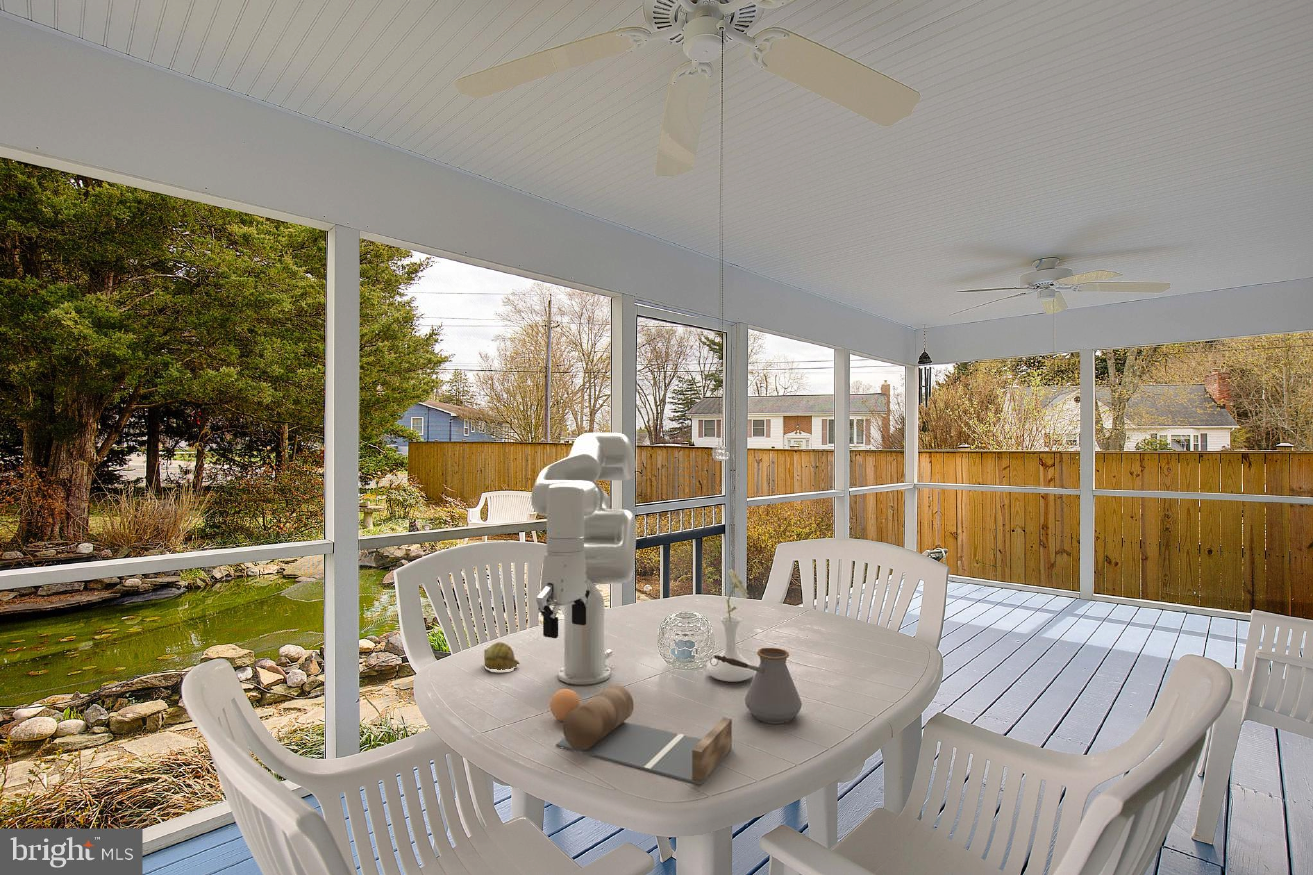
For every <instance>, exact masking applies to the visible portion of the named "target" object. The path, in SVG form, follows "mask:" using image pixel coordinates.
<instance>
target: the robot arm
mask: <svg viewBox="0 0 1313 875" xmlns="http://www.w3.org/2000/svg"><path fill="white" fill-rule="evenodd" d="M631 443H632V442H631V441H630V439H629V437H627V436H626V435H625V434H623V433H620V432H587V433H583V434H581V435H579V436H578V437H577V438H576V439H575V440H574V441H573V444H572V446H571V449H570V451H569V453H568V456H567V457H565V458H562V459H560V460H558V461H556V462H554V463H551V464H550V465H547V466H546V467H544V468H543V469H542V470H541V471H540V472H539V474H538V476H537V478H536V480H535V482H534V484H533V487H532V491H531V497H530V499H531V500H530V501H531V502H530V503H531V506H532V509H533V510H534V512H535V513H537V514H539V515H540V516H546V553H545V554H544V557H543V562H542V569H541V578H540V580H541V581H540V592H539V594H538V595H537V597H536V604H537V606H538V611H539V612H540V615H541V617H542V626H543V628H542V636H543V637H545V638H550V639H558V638H559V617H558V616H557V615H558V612H559V610H560V608H561V607H562V606H564V608H563V610H564V612H563V613H564V617H563V621H564V623H563V626H564V628H563V630H564V633H563V634H564V635H563V636H564V637H563V639H564V640H563V644H564V646H563V648H564V654H563V657H564V659H563V661H564V662H563V664H564V665H563V666H561V667H560V668H559V669H558V671H557V678H558V680H559V681H561V682H563V681H564V682H563V683H565V682H566V684H569V683H570V685H578V686H581V685H582V686H583V685H584V686H586V685H593V684H599V683H602V682H604V681H606V680H608V679H609V678H610V677H611V674H612V669H611V667H610V666H608V665H607V664H606V661H607V659H609V658H610V657H612V656H613V651H612V649H609V648H608V649H605V600H604V596H603V594H602V593H601V591H600V590H599V588H597V587H596V584H597V585H599V584H625V583H629V582H630V581H631V580H632V578H633V575H634V571H635V561H636V546H637V530H638V529H637V521H636V517H635V515H634V514H633V512H631V511H630V510H628V509H625V508H624V509H622V508H610V505H611V500H610V497H609V495H608V493H606V491H605V490H604V489H603V487H601V486H600V485H599V484H598V483H597V482H596V481H628V480H630V479H632V478H633V476H634V475H635V472H636V464H637V463H636V456H635V452H634V449H633V446H632V444H631ZM551 607H553V608H551Z"/></svg>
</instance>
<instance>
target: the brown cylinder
mask: <svg viewBox="0 0 1313 875" xmlns="http://www.w3.org/2000/svg"><path fill="white" fill-rule="evenodd" d="M633 711H634V699H633V697H632V695H631V693H630V691H629V690H628V688H626V687H624V686H622V685H620V684H611V685H609V686H608V687H607V688H605V689H603V690H602V691H599V692H598V693H597V694H595V695H594V696H592V697H591V698H589V699H588V700H586V701H585V702H583V703H581V704H580V706H579V707H577V708H576V709H574V710H572V711H571V712H569V713H568V714H567V715H566V716H565V718H564V721H562V733H563V736H564V738H566V740H567V742H568V743H569V744H570V745H571V746H572V747H573V748H575V749H577V750H582V751H583V750H587V749H589V748H590V747H591V746H593V745H594V744H595V743H596V742H598V741H599V740H600V739H602V738H603V737H604V736H606V735H607V734H608V733H609V732H611V731H612V730H613V729H615V728H616V727H617V726H619V725H620V724H621V723H622V722H626V720H627V719H629V718H630V717H631V716H632V714H633Z"/></svg>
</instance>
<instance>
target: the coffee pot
mask: <svg viewBox="0 0 1313 875" xmlns="http://www.w3.org/2000/svg"><path fill="white" fill-rule="evenodd" d="M756 654H757V655H758V657H759V661H760V663H759V664H758V666H756V665H753V664H752V665H749V664H747V663H744V662H741V661H739V660H736V659H733V658H726V657H725V656H723V657H721V656H719V655H720V654H719V655H718V654H717V655H713V656H710V659H709V663H711V661H712V660H713V658H714V659H717V660H718V661H719V660H721V661H722V662H723V663H724V662H727V663H729V664H730V665H734V666H738V667H743V668H748V669H751V670H754V671H755V673H754V675H753V679H752V680H751V684H750V686H749V688H748V690H747V692H746V695H745V697H744V702H745V706H746V709H748V711H749V712H750V713H751V714H752V715H753V716H754V717H755V719H757V720H759V721H760V722H764V723H767V724H785V723H788V722H790V721H792V719H793V718H794V717H795V716H796V715H798V714H799V713H800V712H801V711H800V710H801V708H802V705H803V703H802V701H801V697H800V695H799V692H798V690H797V688H796V686H795V682H794V680H793V678H792V674H791V673H790V670H789V668H788V666H787V659H788V658H789V657H790V653H789V651H787V650H785V649H781V648H776V647H762V648H760V649H758V650H757V652H756ZM718 661H717V664H718ZM717 664H716V665H717ZM711 665H712V663H711ZM716 665H712V666H716ZM784 722H785V723H784Z"/></svg>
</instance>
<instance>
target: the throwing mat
mask: <svg viewBox="0 0 1313 875" xmlns="http://www.w3.org/2000/svg"><path fill="white" fill-rule="evenodd" d="M702 739H703V738H702ZM702 739H701V738H696V737H694V736H693V737H692V736H689V735H686V734H681V733H676V732H673V731H672V732H671V731H667V730H663V729H659V728H655V727H650V726H646V725H641V724H637V723H633V722H629V721H624V722H622V723H621V724H620V725H619V726H617V727H616V728H615V729H613V730H612V731H611V732H609V733H608V734H607V735H606V736H604V737H603V738H602V739H600V740H599V741H598V742H596V743H595V744H594V745H593V746H591V747H590V748H589V749H587V750H583V751H582V750H577V749H575V748H573V747H572V746H571V745H570V744H569V743H568V742H567V740H566V738H565V737H564V738H562V739H561V740H559V741H558V742H557V743H555V746H556V747H557V746H558V747H557V748H561V747H563V748H562V749H564V748H565V750H568V749H569V751H573V752H576V753H581V754H583V755H584V754H585V755H587V756H590V757H591V756H592V757H595V758H598V759H603V760H607V761H611V762H614V763H617V764H621V765H625V766H629V767H632V768H636V769H641V770H643V771H646V772H651V773H655V774H659V775H662V776H666V777H669V778H673V779H677V780H681V781H685V782H687V783H693V784H696V785H699V786H702V785H703V784H704V782H706V780H707V779H708V778H709V776H710V775H711V774H712V773H713V772H714V770H715V769H716V768H717V767H718V765H719V764H720V763H721V762H722V761H723V760H724V759H725V757H726V756H728V754H729V753H730V751H731V750H732V749H733V746H732V747H731V748H730V749H729V750H728V751H727V753H726V754H725V755H724V756H723V757H722V759H721V760H720V761H719V762H718V763H717V764H716V766H715V767H714V768H713V769H712V770H711V772H710V773H709V774H708V775H707V776H706V778H705V779H704V780H703V781H702V782H697V781H693V780H692V750H693V749H694V748H695V746H696V745H697V744H698V743H699V742H700V741H701V740H702Z"/></svg>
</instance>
